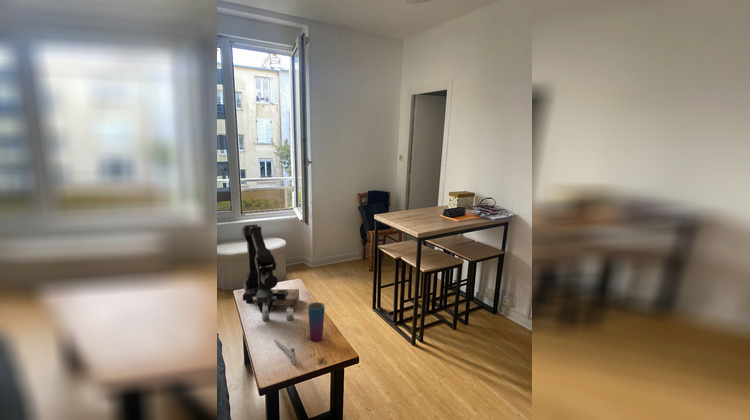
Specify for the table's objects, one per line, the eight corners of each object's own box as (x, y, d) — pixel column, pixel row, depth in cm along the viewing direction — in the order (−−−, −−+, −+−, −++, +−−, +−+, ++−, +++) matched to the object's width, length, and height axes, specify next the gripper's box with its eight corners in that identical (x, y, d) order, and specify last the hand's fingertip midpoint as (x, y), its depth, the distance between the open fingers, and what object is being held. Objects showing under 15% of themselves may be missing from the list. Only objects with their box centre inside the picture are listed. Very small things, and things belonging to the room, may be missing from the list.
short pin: (286, 321, 170) (286, 311, 169) (287, 317, 174) (286, 307, 173) (293, 320, 171) (293, 310, 170) (293, 317, 174) (293, 307, 173)
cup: (306, 336, 158) (306, 303, 155) (322, 333, 160) (322, 301, 158) (310, 344, 151) (310, 310, 149) (326, 341, 154) (326, 308, 151)
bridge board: (267, 310, 180) (266, 299, 179) (271, 300, 191) (271, 289, 190) (296, 310, 181) (296, 298, 180) (298, 300, 193) (298, 289, 192)
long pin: (261, 321, 169) (261, 303, 168) (262, 318, 172) (262, 300, 171) (268, 321, 170) (268, 302, 168) (269, 318, 173) (269, 299, 171)
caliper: (296, 365, 138) (295, 349, 137) (293, 366, 138) (293, 350, 136) (276, 340, 154) (275, 326, 153) (273, 341, 154) (273, 327, 153)
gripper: (238, 287, 159) (240, 321, 161) (283, 287, 161) (283, 320, 163) (245, 278, 169) (246, 309, 172) (286, 277, 171) (287, 309, 174)
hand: (265, 312), depth 170 cm, fingers closed on long pin, 3 cm apart
